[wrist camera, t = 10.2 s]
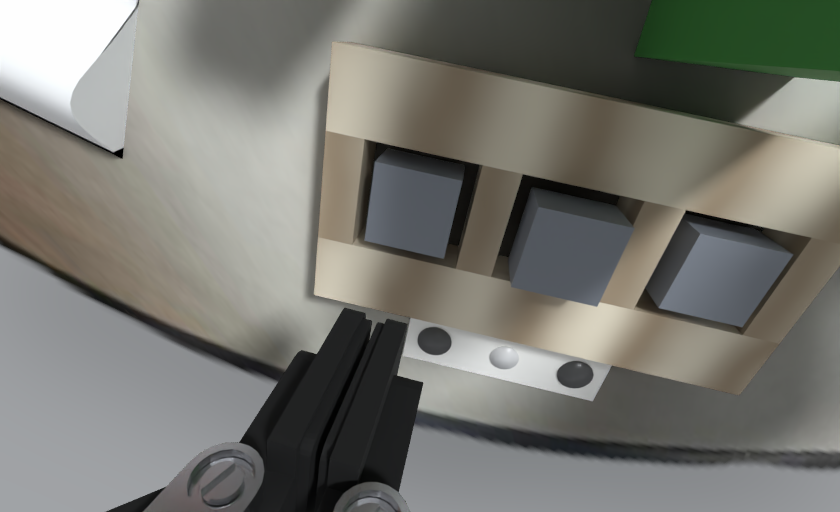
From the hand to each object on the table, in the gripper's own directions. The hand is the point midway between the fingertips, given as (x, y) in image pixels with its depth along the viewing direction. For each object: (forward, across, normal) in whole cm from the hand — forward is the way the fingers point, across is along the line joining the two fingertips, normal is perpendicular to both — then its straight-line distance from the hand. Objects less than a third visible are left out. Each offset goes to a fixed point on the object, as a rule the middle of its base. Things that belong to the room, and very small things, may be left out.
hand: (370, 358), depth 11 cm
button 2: (+15, -15, +1) cm, 21 cm away
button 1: (+14, +1, +1) cm, 14 cm away
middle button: (+13, -7, +1) cm, 15 cm away
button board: (+15, -7, +1) cm, 17 cm away
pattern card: (+15, -7, +11) cm, 20 cm away
